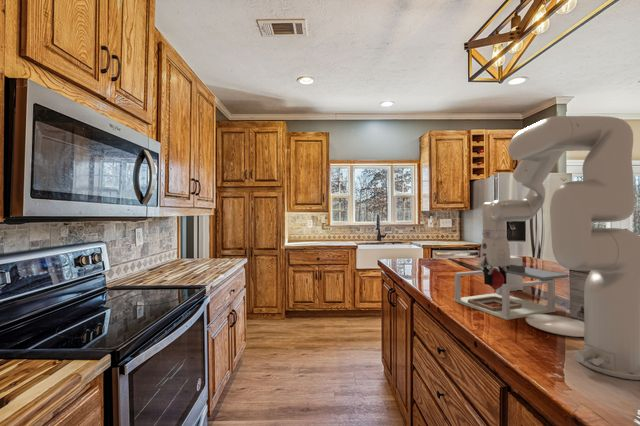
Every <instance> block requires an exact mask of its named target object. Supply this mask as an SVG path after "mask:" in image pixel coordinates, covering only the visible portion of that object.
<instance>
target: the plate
mask: <svg viewBox="0 0 640 426" xmlns="http://www.w3.org/2000/svg"><path fill="white" fill-rule="evenodd" d="M525 322H526V323H527V324H528V325H529V326H531V327H534V328H536V329H538V330H541V331H544V332H548V333H550V334H555V335H561V336H567V337H568V336H569V337H578V338H579V337H580V338H581V337H582V338H584V321H583V320H582V321H581V320H580V319H576V318H575V319H574V318H573V317H571V318H570V317H566V316H561V315H555V314H546V313H544V314H535V315H529V316H526V317H525Z"/></svg>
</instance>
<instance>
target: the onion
mask: <svg viewBox="0 0 640 426" xmlns="http://www.w3.org/2000/svg"><path fill="white" fill-rule="evenodd" d="M491 274H493V285H488V286H489V287H491V289H493V290H495V291H496V290H497V289H498V288H500V287H501V286H502V285H503V284H504V277H503V275H502V274H501V273H500V272H499V271H497V269H496V268H493V270H492V273H491Z"/></svg>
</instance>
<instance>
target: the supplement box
mask: <svg viewBox="0 0 640 426" xmlns="http://www.w3.org/2000/svg"><path fill="white" fill-rule="evenodd" d="M510 259H511V264H519V265H523V257H521V256H515V255H510ZM523 277H524V276H520V275H515V274H510V273H506V282H507V283H506V284H511V283H520V282H524V280H523ZM523 287H524V286H523ZM523 287H515V288H510V292H518V291H517V290H522V291H523V290H524V288H523Z"/></svg>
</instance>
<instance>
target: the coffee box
mask: <svg viewBox="0 0 640 426" xmlns="http://www.w3.org/2000/svg"><path fill="white" fill-rule="evenodd" d="M568 271H569V274H568V277H569V316H570V317H571V318H573V319H574V318H575V319H577V318H578V319H577V320H580V319H581V320H582V321H584V287H585V282H586V279H587V277H588V275H589V273H590V271H591V270H588V271H578V270H570V269H568ZM581 320H580V321H581Z"/></svg>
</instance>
